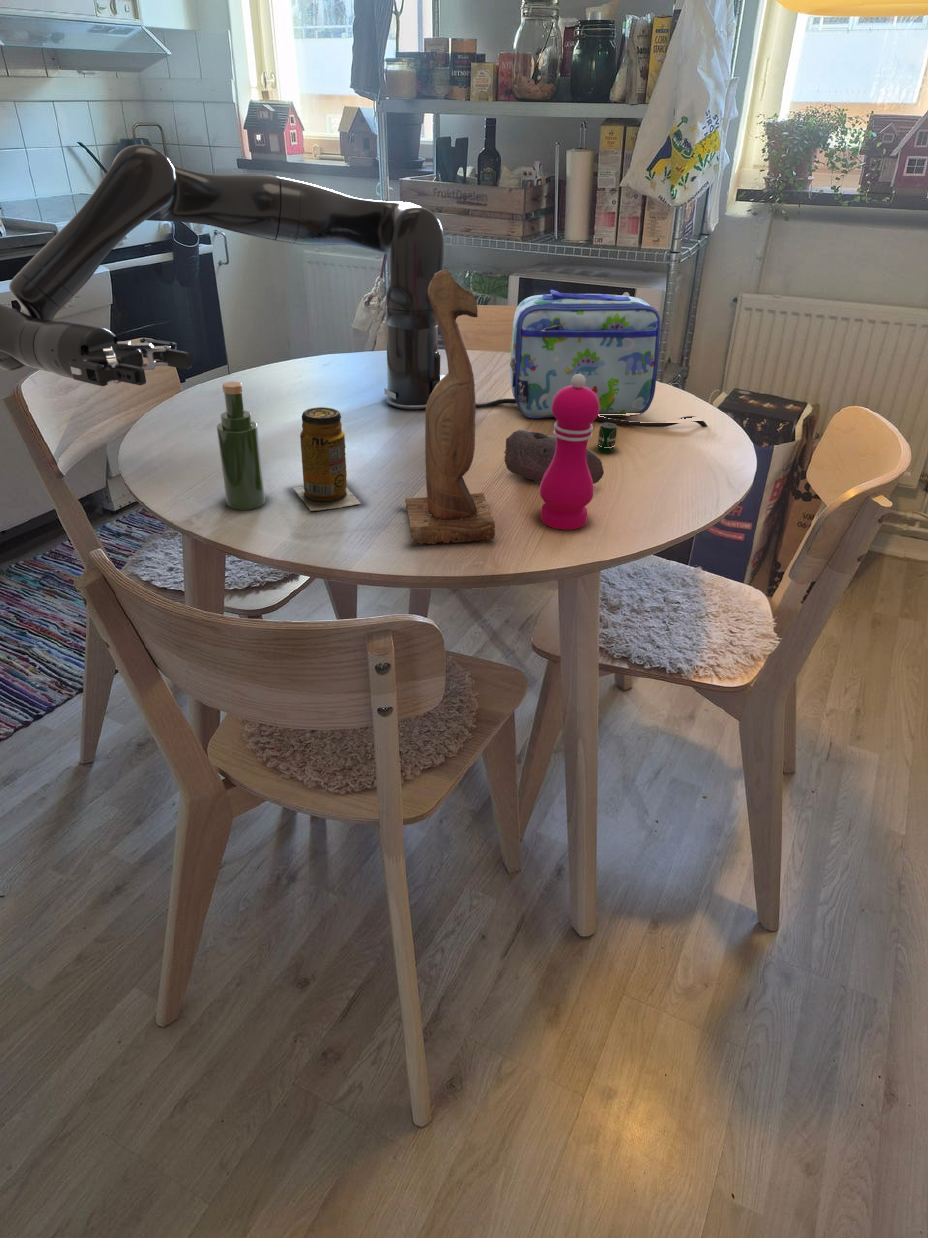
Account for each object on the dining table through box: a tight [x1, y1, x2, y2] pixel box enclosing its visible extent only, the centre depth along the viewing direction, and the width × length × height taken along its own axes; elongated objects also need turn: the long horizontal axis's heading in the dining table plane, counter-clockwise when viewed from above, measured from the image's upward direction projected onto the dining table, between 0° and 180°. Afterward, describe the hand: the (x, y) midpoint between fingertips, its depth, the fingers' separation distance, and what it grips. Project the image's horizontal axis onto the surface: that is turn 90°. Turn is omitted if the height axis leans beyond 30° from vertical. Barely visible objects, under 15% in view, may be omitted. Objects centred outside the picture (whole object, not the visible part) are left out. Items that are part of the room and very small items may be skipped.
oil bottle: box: [216, 381, 266, 511], centre depth 110 cm, size 5×5×16 cm
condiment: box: [293, 406, 361, 512], centre depth 113 cm, size 7×8×12 cm
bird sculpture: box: [404, 268, 496, 547], centre depth 101 cm, size 11×12×32 cm
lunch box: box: [509, 289, 662, 419], centre depth 146 cm, size 26×11×21 cm, turn 92°
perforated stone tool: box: [503, 429, 605, 485], centre depth 122 cm, size 15×5×7 cm, turn 66°
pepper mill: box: [539, 374, 599, 531], centre depth 107 cm, size 7×7×20 cm
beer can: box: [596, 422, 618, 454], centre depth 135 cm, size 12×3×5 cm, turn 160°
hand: (167, 368), depth 109 cm, fingers open, 8 cm apart
